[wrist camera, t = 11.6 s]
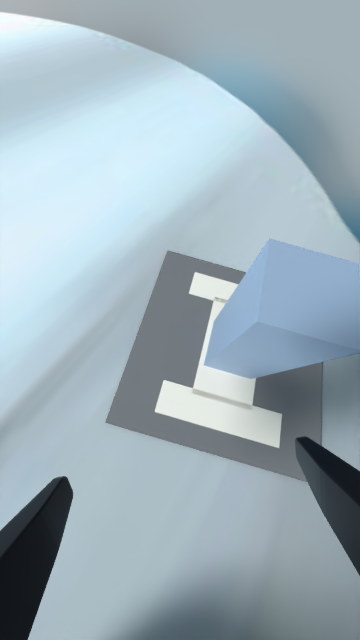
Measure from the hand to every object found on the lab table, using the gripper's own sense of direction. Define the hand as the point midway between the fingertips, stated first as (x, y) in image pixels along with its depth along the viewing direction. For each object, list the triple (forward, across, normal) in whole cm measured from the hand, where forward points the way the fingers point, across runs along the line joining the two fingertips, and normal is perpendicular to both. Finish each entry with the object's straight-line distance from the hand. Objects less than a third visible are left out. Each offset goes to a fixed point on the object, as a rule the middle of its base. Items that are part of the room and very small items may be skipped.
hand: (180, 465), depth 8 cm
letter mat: (+15, -5, +2) cm, 16 cm away
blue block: (+15, -5, +2) cm, 16 cm away
